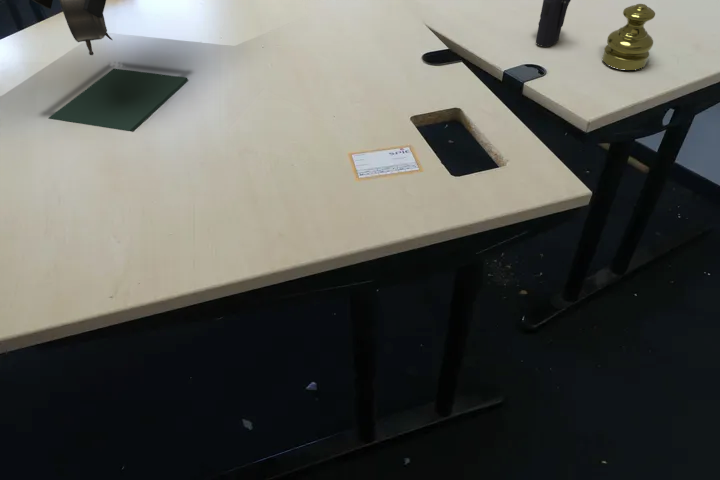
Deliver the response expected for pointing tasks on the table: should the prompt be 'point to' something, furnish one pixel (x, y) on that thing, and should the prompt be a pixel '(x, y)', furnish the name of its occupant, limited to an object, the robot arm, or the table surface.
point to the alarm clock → (83, 22)
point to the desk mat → (120, 99)
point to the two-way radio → (551, 21)
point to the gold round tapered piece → (630, 40)
